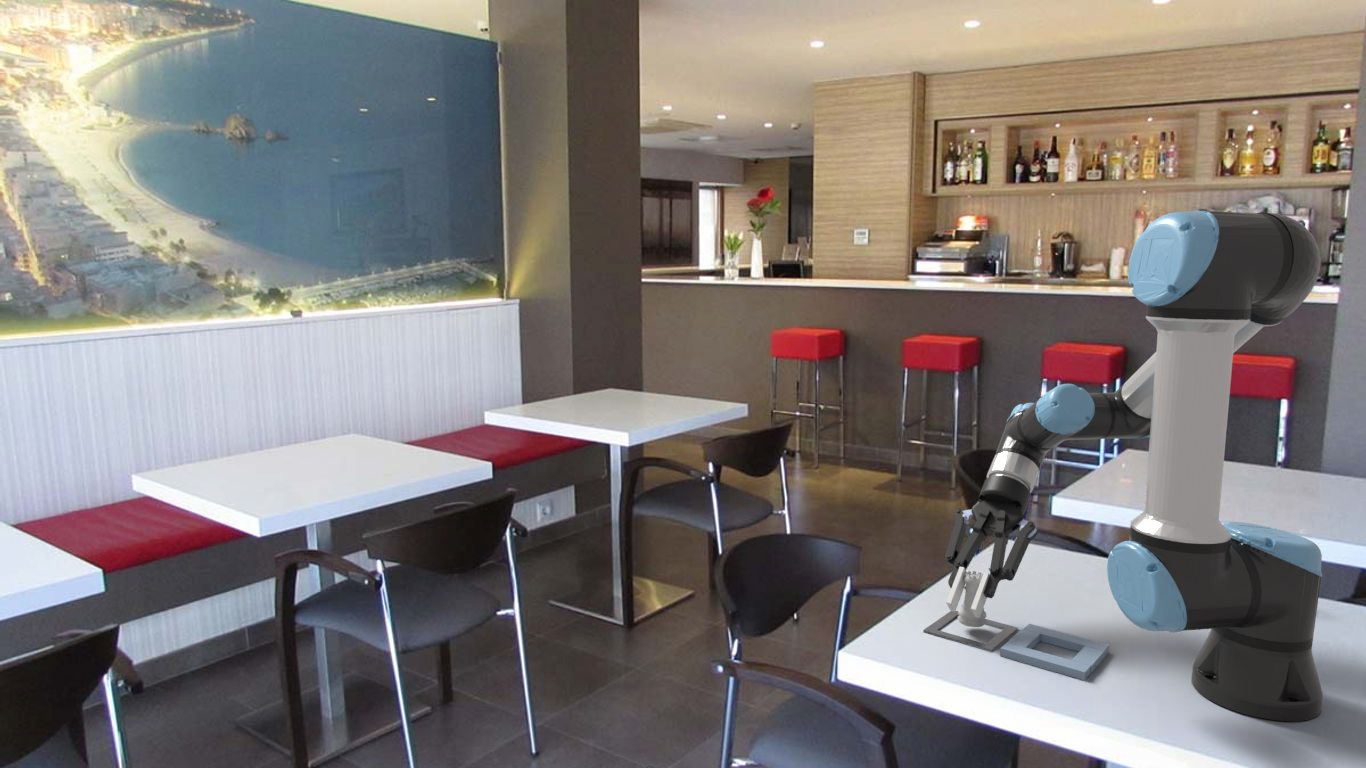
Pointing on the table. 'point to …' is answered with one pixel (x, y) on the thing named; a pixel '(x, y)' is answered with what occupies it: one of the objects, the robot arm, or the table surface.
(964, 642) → the bezel
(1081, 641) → the socket
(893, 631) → the table surface
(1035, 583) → the table surface
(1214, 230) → the robot arm
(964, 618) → the rook chess piece
